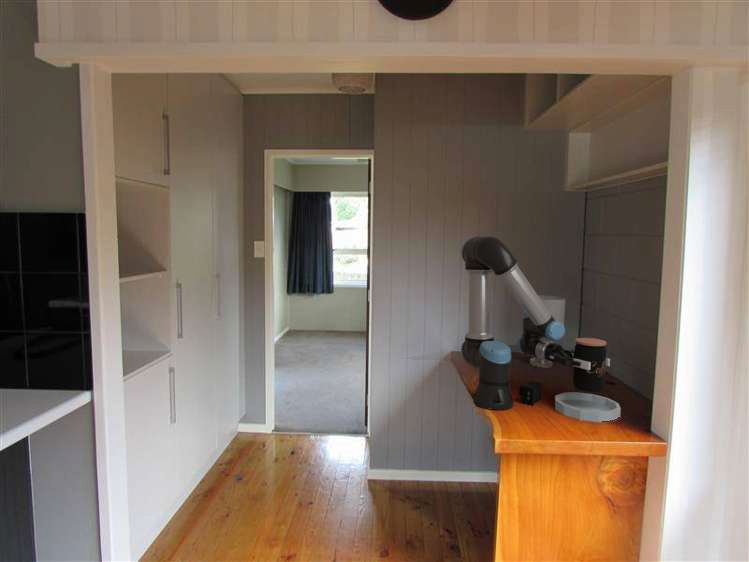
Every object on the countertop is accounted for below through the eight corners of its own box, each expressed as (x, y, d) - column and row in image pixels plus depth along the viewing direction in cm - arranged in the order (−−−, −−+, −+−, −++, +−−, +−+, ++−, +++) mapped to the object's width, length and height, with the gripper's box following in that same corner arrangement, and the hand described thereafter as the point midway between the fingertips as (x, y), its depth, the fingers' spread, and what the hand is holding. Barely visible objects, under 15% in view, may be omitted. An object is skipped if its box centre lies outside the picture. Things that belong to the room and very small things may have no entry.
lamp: (516, 359, 253) (519, 294, 250) (554, 360, 252) (557, 295, 249) (526, 369, 233) (530, 299, 230) (567, 371, 232) (571, 300, 229)
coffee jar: (586, 393, 168) (588, 344, 167) (566, 384, 179) (568, 338, 177) (611, 391, 171) (613, 342, 170) (590, 382, 182) (592, 337, 180)
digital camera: (527, 396, 191) (528, 380, 191) (541, 399, 188) (542, 382, 187) (518, 403, 183) (519, 385, 182) (532, 406, 180) (533, 388, 179)
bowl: (602, 426, 160) (603, 416, 160) (543, 408, 177) (544, 399, 177) (629, 413, 174) (630, 403, 174) (572, 397, 191) (573, 389, 191)
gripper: (568, 357, 196) (618, 370, 177) (529, 364, 184) (578, 378, 165) (569, 340, 195) (619, 350, 176) (530, 345, 184) (579, 357, 165)
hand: (599, 364), depth 171 cm, fingers closed on coffee jar, 11 cm apart
